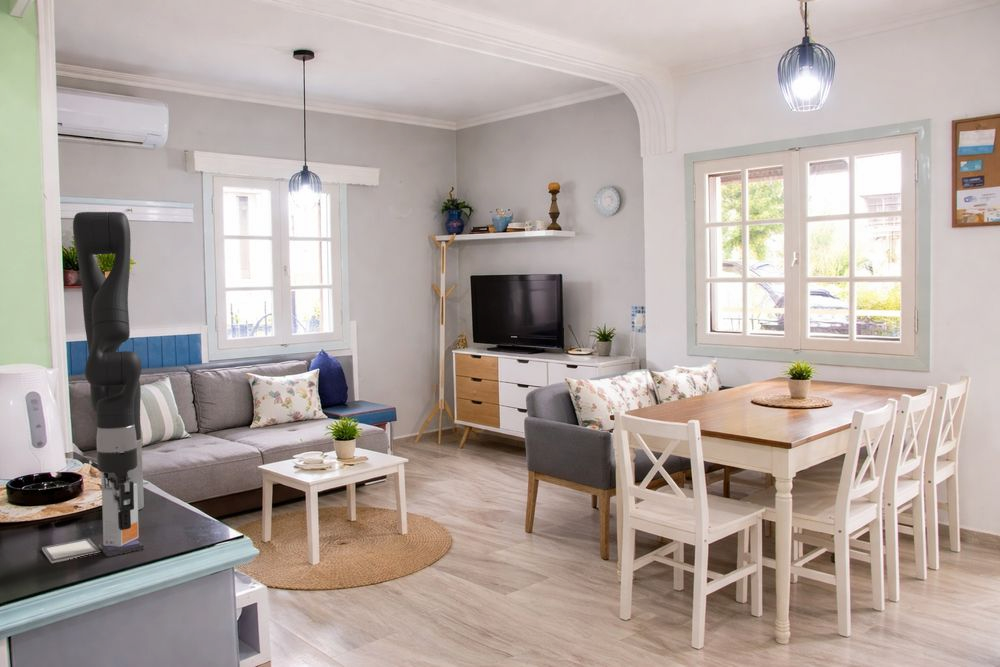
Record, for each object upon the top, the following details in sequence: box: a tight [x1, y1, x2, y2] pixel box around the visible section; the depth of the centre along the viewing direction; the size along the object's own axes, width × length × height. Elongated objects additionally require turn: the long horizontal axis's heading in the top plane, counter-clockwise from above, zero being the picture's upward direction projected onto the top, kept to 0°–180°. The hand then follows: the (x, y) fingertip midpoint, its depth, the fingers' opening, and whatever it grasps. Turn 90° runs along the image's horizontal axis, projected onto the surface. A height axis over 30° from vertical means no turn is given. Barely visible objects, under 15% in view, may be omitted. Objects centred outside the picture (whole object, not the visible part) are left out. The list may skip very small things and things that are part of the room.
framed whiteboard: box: [41, 537, 101, 564], centre depth 167 cm, size 10×9×1 cm
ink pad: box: [98, 539, 144, 557], centre depth 168 cm, size 7×7×1 cm
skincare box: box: [101, 484, 139, 547], centre depth 168 cm, size 6×4×12 cm
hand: (120, 524), depth 168 cm, fingers closed on skincare box, 7 cm apart
